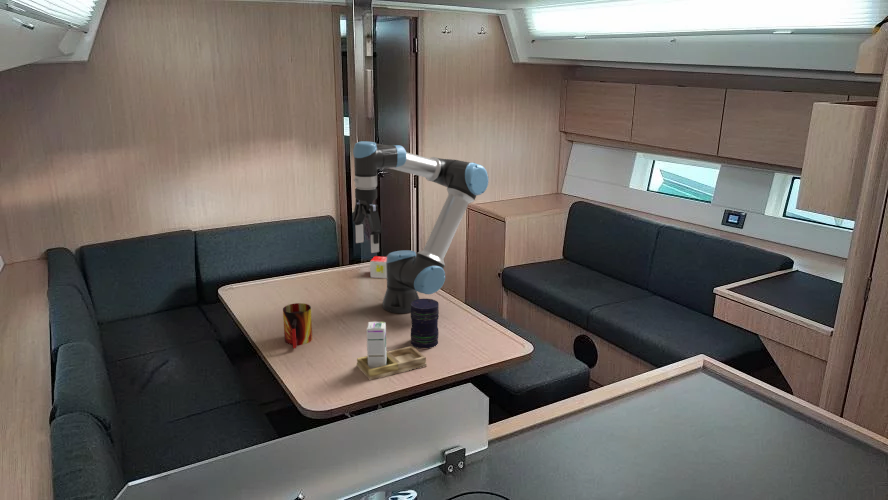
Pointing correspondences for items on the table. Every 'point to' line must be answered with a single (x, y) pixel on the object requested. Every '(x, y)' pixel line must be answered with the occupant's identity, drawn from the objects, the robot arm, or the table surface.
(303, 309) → the mug
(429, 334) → the storage jar
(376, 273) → the white red cube
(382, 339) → the syrup box
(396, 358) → the socket board
